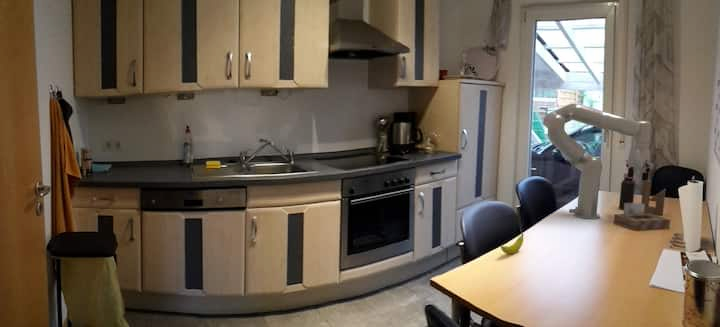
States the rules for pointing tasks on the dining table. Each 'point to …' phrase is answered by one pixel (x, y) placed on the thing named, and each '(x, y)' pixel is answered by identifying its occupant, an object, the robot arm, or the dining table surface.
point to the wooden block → (652, 199)
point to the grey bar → (633, 208)
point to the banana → (513, 246)
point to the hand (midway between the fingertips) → (637, 178)
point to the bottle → (626, 191)
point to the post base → (641, 221)
